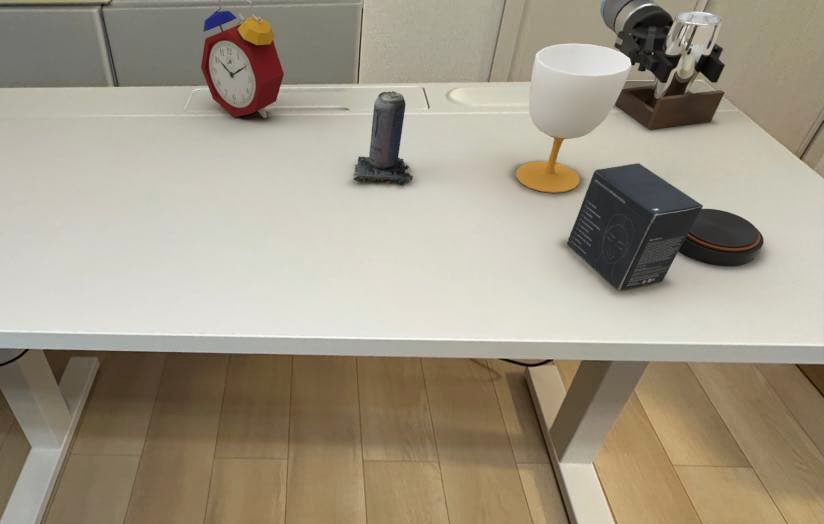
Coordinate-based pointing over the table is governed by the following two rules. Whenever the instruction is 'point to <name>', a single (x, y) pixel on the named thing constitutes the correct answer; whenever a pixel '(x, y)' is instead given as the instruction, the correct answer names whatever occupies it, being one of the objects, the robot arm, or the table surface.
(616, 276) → the box
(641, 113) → the wooden tray
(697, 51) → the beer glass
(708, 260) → the hot plate
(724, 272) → the table surface
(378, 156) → the beverage can
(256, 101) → the alarm clock
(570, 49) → the cup
